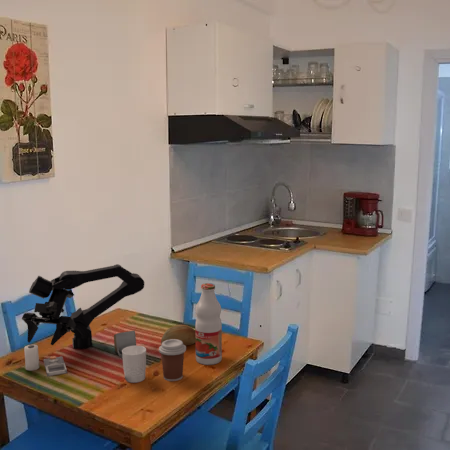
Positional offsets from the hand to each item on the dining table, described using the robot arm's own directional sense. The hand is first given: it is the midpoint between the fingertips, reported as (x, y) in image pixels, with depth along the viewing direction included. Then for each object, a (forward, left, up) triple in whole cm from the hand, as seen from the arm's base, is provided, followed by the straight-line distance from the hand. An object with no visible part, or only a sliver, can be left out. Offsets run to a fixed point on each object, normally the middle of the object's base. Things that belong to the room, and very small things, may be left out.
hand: (39, 343), depth 188 cm
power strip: (-4, +5, -9) cm, 11 cm away
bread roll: (-51, +1, -9) cm, 52 cm away
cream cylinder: (+3, +3, -9) cm, 10 cm away
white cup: (-28, +22, -9) cm, 37 cm away
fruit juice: (-56, +18, -9) cm, 59 cm away
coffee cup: (-40, +26, -9) cm, 49 cm away
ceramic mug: (-30, 0, -9) cm, 32 cm away
